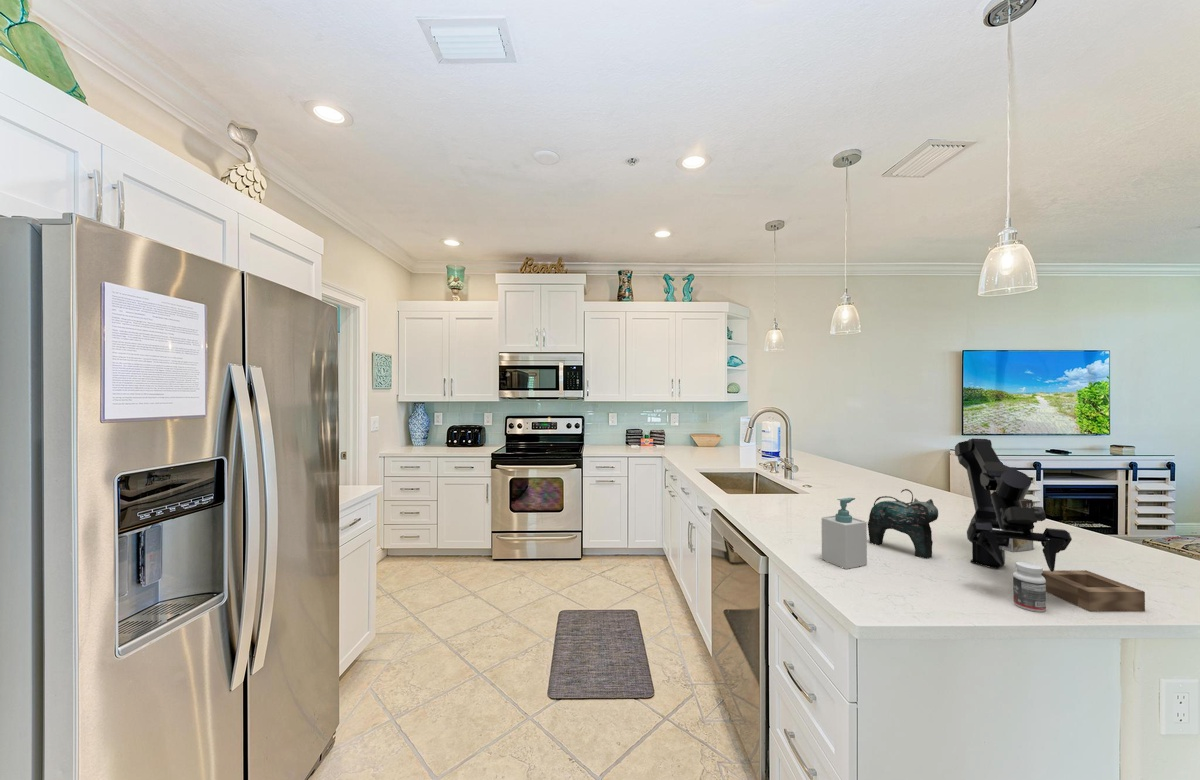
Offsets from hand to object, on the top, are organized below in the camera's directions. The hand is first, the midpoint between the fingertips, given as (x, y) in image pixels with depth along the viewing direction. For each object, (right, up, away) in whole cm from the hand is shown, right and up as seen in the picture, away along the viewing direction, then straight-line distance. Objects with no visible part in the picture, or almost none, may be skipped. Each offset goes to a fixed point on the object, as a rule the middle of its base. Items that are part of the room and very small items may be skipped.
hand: (1027, 567), depth 110 cm
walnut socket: (+18, -9, +3) cm, 20 cm away
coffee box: (+32, -9, +40) cm, 52 cm away
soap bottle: (-29, -9, +28) cm, 41 cm away
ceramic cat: (-5, -9, +38) cm, 39 cm away
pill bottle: (0, -9, -1) cm, 9 cm away
